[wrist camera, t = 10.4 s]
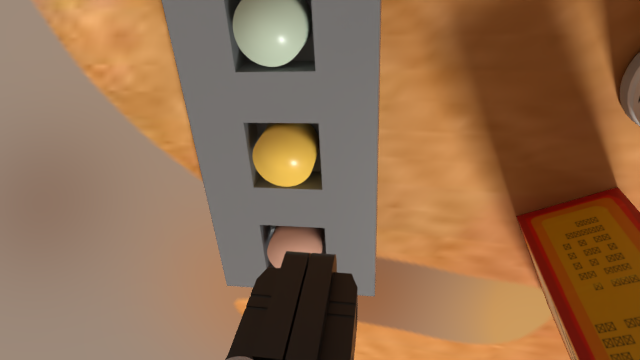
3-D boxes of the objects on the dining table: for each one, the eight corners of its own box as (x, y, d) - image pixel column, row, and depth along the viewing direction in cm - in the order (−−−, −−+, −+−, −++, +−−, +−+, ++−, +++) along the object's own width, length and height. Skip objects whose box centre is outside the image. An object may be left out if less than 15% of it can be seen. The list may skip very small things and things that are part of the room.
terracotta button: (272, 212, 32) (264, 232, 30) (323, 214, 31) (318, 235, 29) (278, 251, 34) (270, 274, 32) (326, 254, 33) (321, 277, 31)
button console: (176, -50, 24) (150, -48, 22) (382, -63, 22) (381, -62, 20) (238, 260, 36) (227, 285, 34) (375, 269, 35) (374, 296, 32)
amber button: (259, 115, 28) (248, 131, 26) (317, 115, 27) (311, 132, 25) (266, 167, 30) (256, 185, 28) (320, 168, 29) (315, 187, 27)
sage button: (242, -14, 24) (227, -9, 22) (310, -17, 23) (301, -12, 21) (251, 55, 26) (238, 67, 24) (314, 54, 25) (307, 66, 23)
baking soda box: (639, 285, 32) (826, 551, 18) (547, 304, 34) (652, 553, 20) (617, 187, 28) (833, 431, 14) (516, 216, 30) (619, 450, 16)
